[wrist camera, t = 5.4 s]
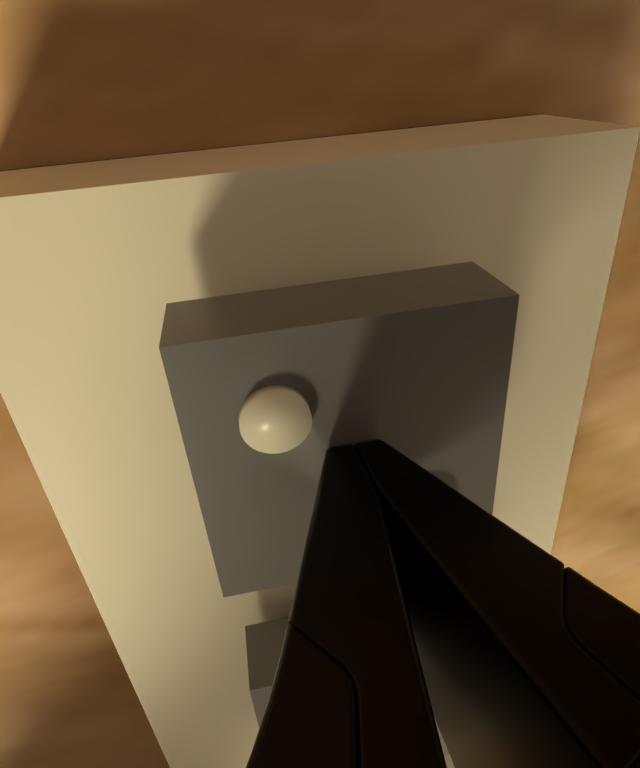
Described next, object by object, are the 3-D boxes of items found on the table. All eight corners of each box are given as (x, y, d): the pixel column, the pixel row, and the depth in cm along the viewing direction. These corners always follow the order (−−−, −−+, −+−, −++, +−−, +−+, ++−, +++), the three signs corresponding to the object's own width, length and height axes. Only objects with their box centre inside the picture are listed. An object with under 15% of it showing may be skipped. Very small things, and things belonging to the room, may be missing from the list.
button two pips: (456, 489, 11) (493, 551, 10) (221, 532, 10) (223, 607, 9) (472, 261, 8) (526, 299, 7) (166, 303, 8) (157, 355, 6)
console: (466, 721, 24) (498, 799, 21) (216, 782, 22) (217, 873, 20) (542, 114, 11) (640, 126, 9) (-10, 172, 10) (-84, 207, 7)
